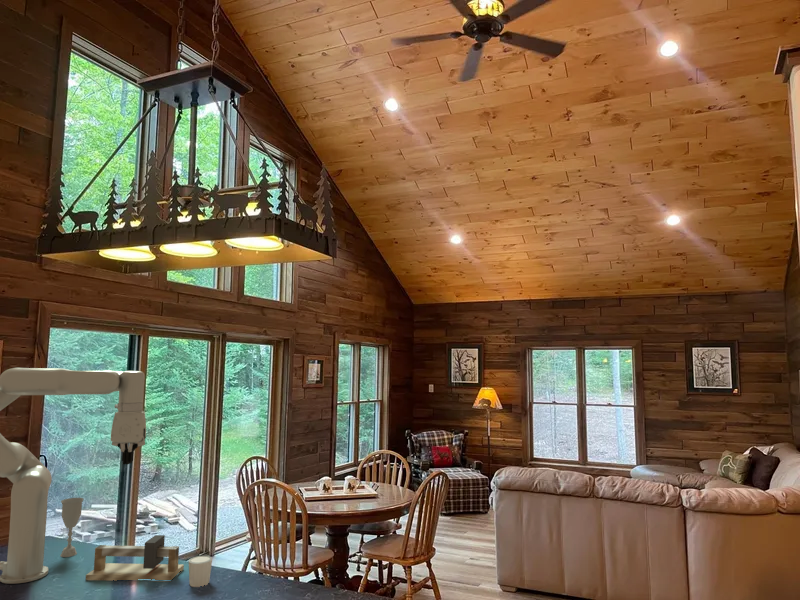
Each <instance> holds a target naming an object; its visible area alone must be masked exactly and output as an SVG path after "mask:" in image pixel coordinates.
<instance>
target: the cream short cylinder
mask: <svg viewBox="0 0 800 600" xmlns="http://www.w3.org/2000/svg"><path fill="white" fill-rule="evenodd" d="M212 563H213V557H212V556H210V555H197V556H193V557H191V558H189V559H188V577H189V581H188V582H189V586H191V587H192V588H201V587H200V586H202V587H205V586H207V585H209V584H208V583H210V581H211V580H210V578H211V572H212ZM204 585H205V586H204Z"/></svg>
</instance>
